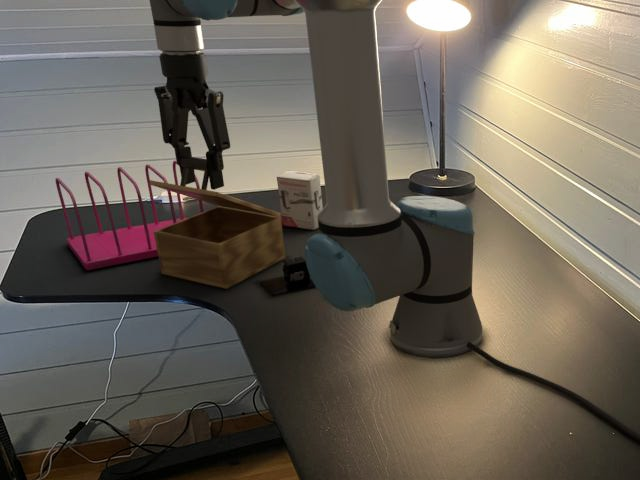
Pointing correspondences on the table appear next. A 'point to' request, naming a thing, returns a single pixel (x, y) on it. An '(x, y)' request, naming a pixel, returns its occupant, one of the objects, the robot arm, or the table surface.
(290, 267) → the black angular piece
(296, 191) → the ink box
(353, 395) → the table surface
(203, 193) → the chest lid
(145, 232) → the file sorter
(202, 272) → the chest
